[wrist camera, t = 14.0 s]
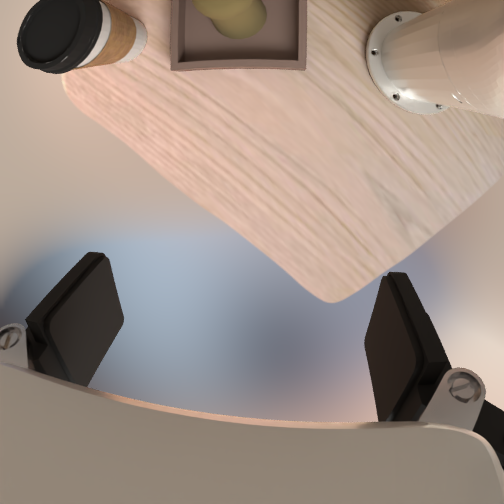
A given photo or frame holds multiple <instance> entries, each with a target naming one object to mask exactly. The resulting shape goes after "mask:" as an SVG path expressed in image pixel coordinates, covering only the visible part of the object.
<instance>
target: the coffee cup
mask: <svg viewBox="0 0 504 504" xmlns="http://www.w3.org/2000/svg"><path fill="white" fill-rule="evenodd" d="M146 42H147V31H146V28H145V26H144V25H143V24H142V23H141V22H140V21H138V20H137V19H135V18H133V17H131V16H129V15H128V14H126V13H124V12H123V11H121V10H119V9H117V8H116V7H114V6H112V5H110V4H109V3H107V2H105V1H103V0H40V1H39V2H37V3H36V4H35V5H34V6H33V7H32V8H31V9H30V10H29V12H28V13H27V15H26V16H25V18H24V20H23V22H22V24H21V27H20V30H19V33H18V37H17V47H18V52H19V55H20V57H21V59H22V61H23V62H24V63H25V64H26V65H27V66H29V67H31V68H34V69H40V70H42V71H44V72H46V73H53V74H61V73H65V72H68V71H71V70H74V69H81V68H87V67H93V66H100V65H106V64H112V63H124V62H128V61H131V60H133V59H134V58H136V57H137V56H138V55H139V54H140V53H141V52H142V51H143V49H144V47H145V45H146Z"/></svg>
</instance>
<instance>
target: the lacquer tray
mask: <svg viewBox="0 0 504 504" xmlns="http://www.w3.org/2000/svg"><path fill="white" fill-rule="evenodd" d="M261 1H262V2H263V4H264V5H265V7H266V12H267V18H266V22H265V24H264V26H263V27H262V29H261V30H260V31H259V32H258V33H256V34H255V35H253V36H251V37H249V38H244V39H230V38H228V37H225V36H223V35H222V34H220V33H219V32H218V31H217V30H216V28H215V27H214V25H213V23H212V21H211V19H210V18H209V17H206V16H204V15H203V14H202V13H200V12H199V11H198V10H197V9H196V8H195V6H194V5H193V3H192V0H172V9H171V71H192V70H208V69H288V70H305V69H306V51H307V0H261Z"/></svg>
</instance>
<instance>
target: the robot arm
mask: <svg viewBox="0 0 504 504" xmlns="http://www.w3.org/2000/svg"><path fill="white" fill-rule="evenodd" d="M395 18H396V19H398V22H397V21H396V20H395ZM371 51H374V52H375V55H372V54H371ZM366 60H367V66H368V69H369V72H370V75H371V77H372V79H373V81H374V83H375V85H376V86H377V88H378V89H379V90H380V92H381V93H382V94H383V95H384V96H385V97H386V98H387V99H388V100H389V101H390V102H392V103H393V104H394V105H396V106H397V107H399V108H401V109H403V110H405V111H409V112H412V113H416V114H421V115H431V114H436V113H440V112H442V111H444V110H446V109H448V108H449V107H455V108H460V109H464V110H469V111H473V112H477V113H482V114H486V115H490V116H494V117H498V118H503V119H504V0H452V1H450V2H448V3H445V4H443V5H441V6H438V7H436V8H434V9H432V10H430V11H427V12H425V13H423V14H422V13H418V12H413V11H401V12H397V13H393V14H391V15H389V16H387V17H385V18H383V19H382V20H381V21H379V22H378V23H377V25H376V26H375V27H374V28H373V30H372V31H371V33H370V35H369V38H368V41H367V46H366ZM394 94H395V95H396V98H395V99H394V98H393V95H394ZM436 104H437V105H438V106H437V107H436ZM25 320H26V322H27V324H28V328H27V329H26V330H25V328H24V327H23V326H22V325H20V324H9V325H6V326H4V327H2V328H1V329H0V504H504V411H502V410H501V409H499V408H497V407H496V406H494V405H493V404H491V403H489V402H488V401H486V400H485V399H484V398H485V394H486V390H485V385H484V384H483V382H482V380H481V378H480V377H479V376H478V375H477V374H475V373H474V372H473V371H471V370H468V369H465V368H454V369H452V367H451V365H450V362H449V360H448V357H447V355H446V353H445V350H444V348H443V346H442V343H441V341H440V339H439V337H438V334H437V332H436V330H435V328H434V326H433V324H432V321H431V319H430V317H429V315H428V314H427V313H426V312H425V310H424V308H423V306H422V303H421V301H420V299H419V297H418V295H417V293H416V292H415V289H414V287H413V285H412V283H411V281H410V280H409V278H408V276H407V274H406V273H401V272H389V273H388V275H387V276H383V277H382V280H381V283H380V287H379V291H378V295H377V298H376V302H375V305H374V309H373V312H372V316H371V319H370V323H369V326H368V329H367V332H366V336H365V342H364V344H365V351H366V356H367V360H368V365H369V370H370V376H371V380H372V386H373V392H374V397H375V403H376V409H377V415H378V421H379V422H353V423H352V422H350V423H349V422H348V423H347V422H344V423H343V422H299V421H281V420H266V419H254V418H244V417H236V416H227V415H219V414H211V413H204V412H198V411H191V410H185V409H180V408H173V407H168V406H163V405H158V404H153V403H148V402H144V401H139V400H135V399H130V398H126V397H122V396H117V395H113V394H110V393H106V392H102V391H99V390H95V389H91V388H88V387H87V386H88V384H89V382H90V380H91V379H92V377H93V375H94V374H95V372H96V370H97V368H98V366H99V365H100V363H101V361H102V359H103V358H104V356H105V354H106V352H107V351H108V349H109V347H110V346H111V344H112V342H113V340H114V339H115V337H116V335H117V334H118V332H119V330H120V329H121V327H122V325H123V322H124V316H123V312H122V309H121V305H120V301H119V297H118V293H117V290H116V286H115V282H114V277H113V273H112V269H111V265H110V261H109V259H108V258H107V257H106V256H105V254H104V253H98V252H88V253H87V254H86V255H85V256H84V257H83V258H82V259H81V260H80V261H79V262H78V263H77V264H76V265H75V266H74V267H73V268H72V269H71V270H70V271H69V272H68V273H67V274H66V275H65V276H64V277H63V278H62V279H61V280H60V282H59V283H58V284H57V285H56V286H55V287H54V288H53V289H52V290H51V291H50V292H49V293H48V294H47V295H46V297H45V298H44V299H43V300H42V301H41V302H40V303H39V304H38V306H37V307H36V308H35V309H34V310H33V311H32V312H31V314H30V315H29V316H28V317H27V318H26V319H25Z"/></svg>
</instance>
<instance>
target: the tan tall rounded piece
mask: <svg viewBox="0 0 504 504" xmlns="http://www.w3.org/2000/svg"><path fill="white" fill-rule="evenodd" d="M192 3H193V5H194V6H195V8H196V9H197V10H198V11H199V12H200V13H202V14H203V15H204V16H206V17H209V18H210V19H211V21H212V23H213V25H214V27H215V28H216V30H217V31H218V32H219V33H220V34H222V35H223V36H225V37H228V38H230V39H244V38H249V37H251V36H253V35H255V34H256V33H258V32H259V31H260V30H261V29H262V27H263V26H264V24H265V22H266V18H267V12H266V7H265V5H264V4H263V2H262V1H261V0H192Z"/></svg>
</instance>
